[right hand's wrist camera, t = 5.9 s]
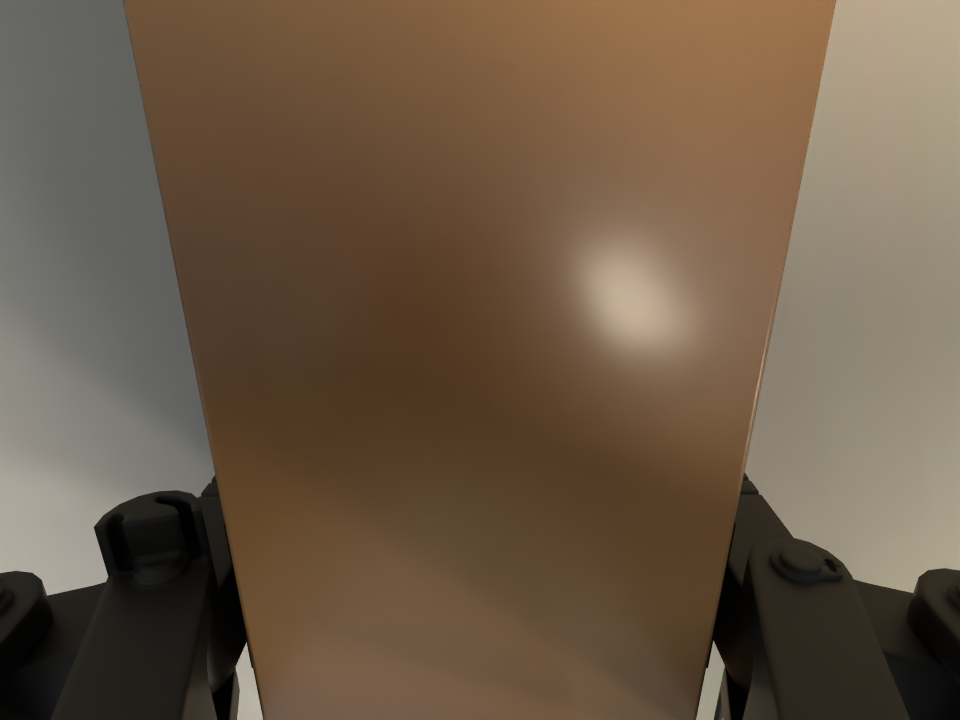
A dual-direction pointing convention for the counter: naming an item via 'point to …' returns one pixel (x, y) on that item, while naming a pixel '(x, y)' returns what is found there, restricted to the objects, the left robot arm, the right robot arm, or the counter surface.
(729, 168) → the beam
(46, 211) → the counter surface
